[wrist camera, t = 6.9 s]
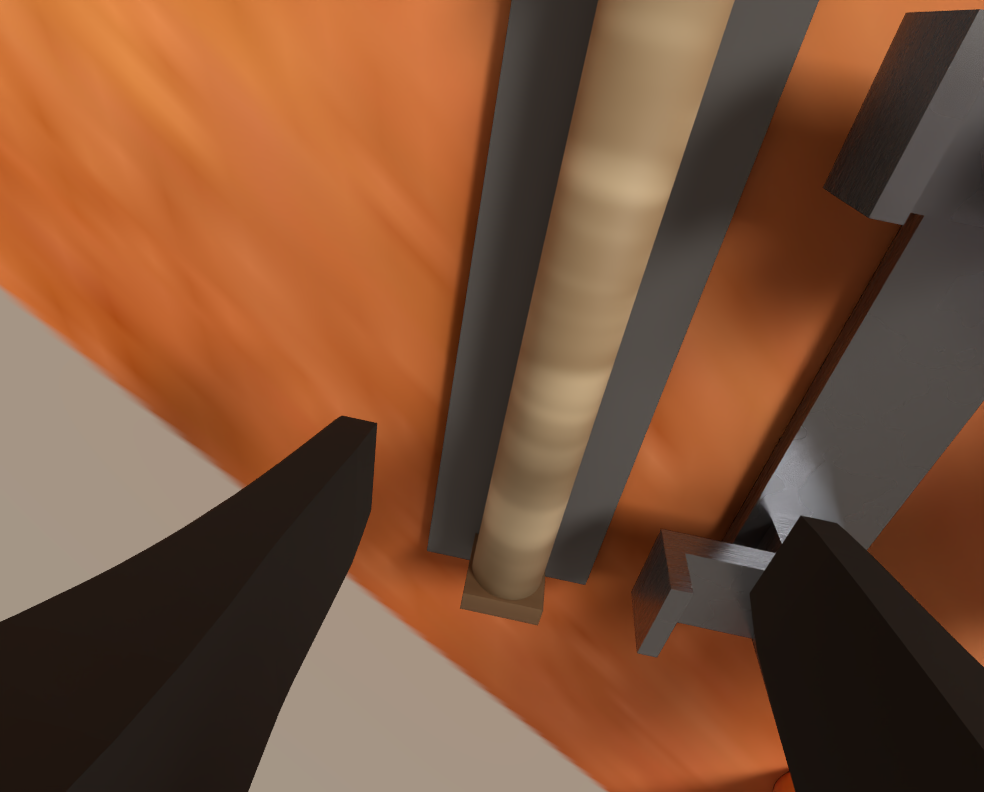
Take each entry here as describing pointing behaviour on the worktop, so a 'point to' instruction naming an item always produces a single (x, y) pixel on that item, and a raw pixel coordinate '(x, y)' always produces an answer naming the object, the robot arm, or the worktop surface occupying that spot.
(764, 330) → the worktop surface
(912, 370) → the hook standards
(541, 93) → the mat
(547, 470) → the tan wooden rod
